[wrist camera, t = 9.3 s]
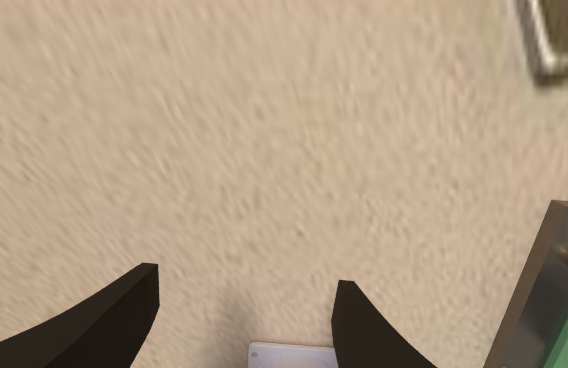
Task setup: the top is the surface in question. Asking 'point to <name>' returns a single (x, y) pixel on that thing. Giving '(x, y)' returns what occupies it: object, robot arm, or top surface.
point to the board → (559, 351)
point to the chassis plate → (537, 299)
